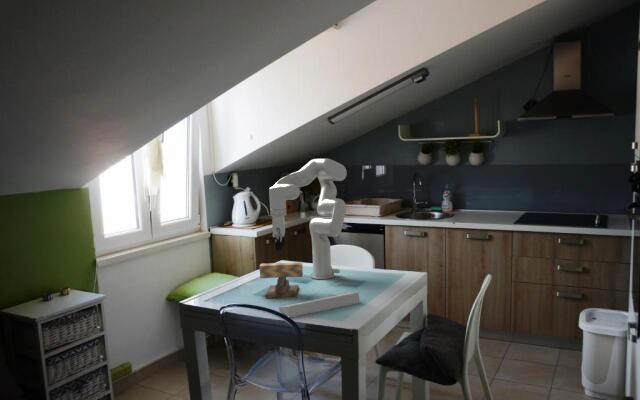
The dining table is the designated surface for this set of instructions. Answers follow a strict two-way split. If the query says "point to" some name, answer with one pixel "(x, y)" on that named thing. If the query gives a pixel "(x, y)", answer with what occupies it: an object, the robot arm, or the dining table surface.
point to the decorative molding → (320, 304)
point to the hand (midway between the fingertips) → (280, 247)
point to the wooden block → (281, 270)
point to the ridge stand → (282, 289)
